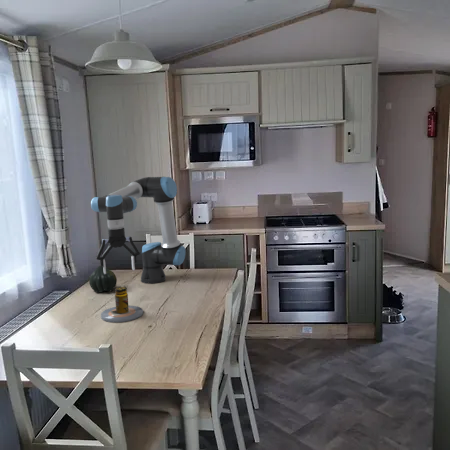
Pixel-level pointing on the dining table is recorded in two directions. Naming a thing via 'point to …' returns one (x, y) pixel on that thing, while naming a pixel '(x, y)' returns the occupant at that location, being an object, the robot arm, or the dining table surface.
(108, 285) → the squash
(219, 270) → the dining table surface
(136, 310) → the ring stand
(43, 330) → the dining table surface
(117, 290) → the condiment
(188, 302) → the dining table surface
